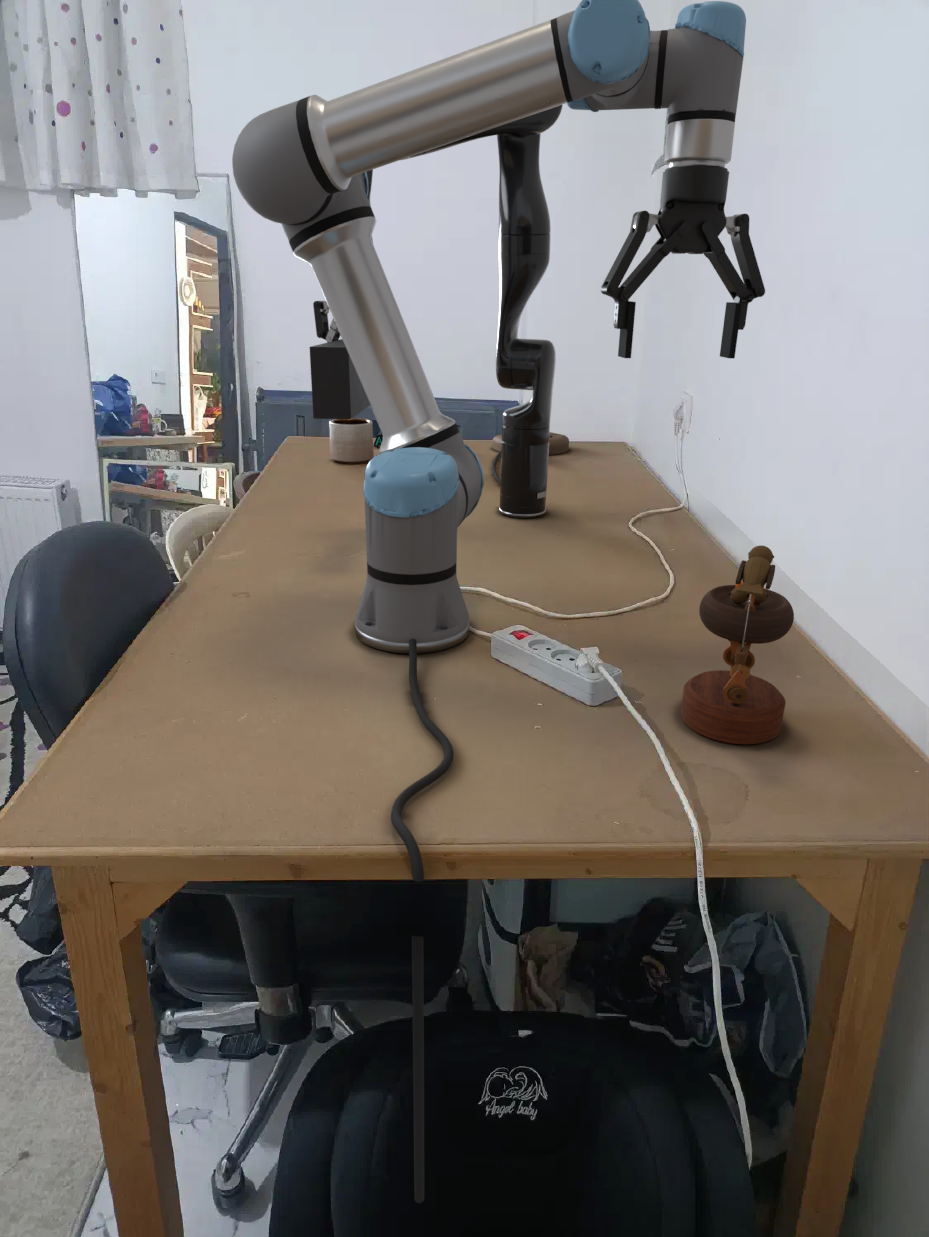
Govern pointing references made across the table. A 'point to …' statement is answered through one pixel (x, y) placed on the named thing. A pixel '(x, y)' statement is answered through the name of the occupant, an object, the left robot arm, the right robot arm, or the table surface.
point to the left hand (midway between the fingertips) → (676, 357)
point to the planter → (351, 440)
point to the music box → (740, 658)
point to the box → (335, 383)
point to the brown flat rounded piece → (556, 443)
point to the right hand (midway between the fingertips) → (354, 365)
